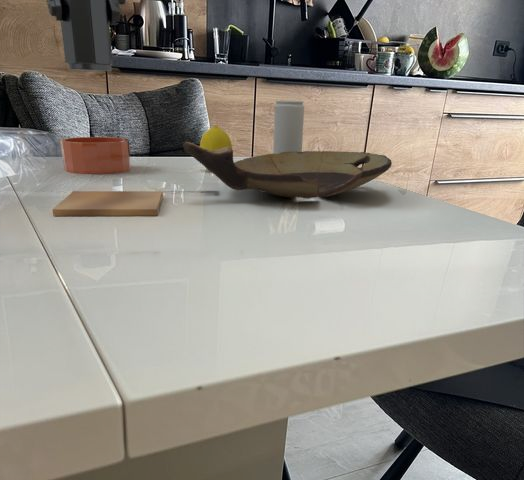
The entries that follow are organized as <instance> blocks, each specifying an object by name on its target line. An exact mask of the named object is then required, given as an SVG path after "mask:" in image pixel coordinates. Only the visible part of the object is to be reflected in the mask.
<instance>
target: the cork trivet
mask: <svg viewBox="0 0 524 480" xmlns="http://www.w3.org/2000/svg"><path fill="white" fill-rule="evenodd" d="M163 197H164V192H163V190H149V191H148V190H119V191H118V190H73V191H72V192H70V194H68V195H67V196H66V197H65V198H63V200H61V201H60V202H59V203H58V204H57V205H55V206H54V207H53V208H52V215H53V217H157V216H158V214H159V211H160V208H161V206H162V205H161V204H162V201H163V199H164V198H163Z"/></svg>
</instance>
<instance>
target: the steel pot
mask: <svg viewBox="0 0 524 480" xmlns="http://www.w3.org/2000/svg"><path fill="white" fill-rule="evenodd" d="M60 2H61V6H62V21H60V27H61V36H62V47H63V53H64V54H63V55H64V62H65V64H67V70H68V71H88V72H92V71H93V72H112V70H113V69H112V66H113V65H114V61H113V49H112V37H111V24H110V21H109V12H108V0H60Z"/></svg>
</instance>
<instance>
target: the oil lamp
mask: <svg viewBox="0 0 524 480" xmlns="http://www.w3.org/2000/svg"><path fill="white" fill-rule="evenodd" d="M182 147H183V150H185V152H186V153H188V155H190V156H191V157H193V159H195V160H196V161H197V162H198V163H199V164H200V165H202V166H203V167H204V168H205V167H206V168H205V169H206V170H208V171H209V172H211V173H212V174H213V175H215V177H217V179H219V180H220V181H221V182H222V183H223V184H224V185H226V186H227V187H228V188H230V189H232V190H236V191H244V190H255V191H258V192H259V191H260V192H261V193H266V194H269V195H274V196H277V197H283V198H290V199H291V198H293V199H294V198H301V199H303V200H304V199H308V200H309V199H316V198H318V197H320V196H321V197H323V198H326V197H331V196H336V195H339V194H343V193H345V192H348V191H351V190H353V189H356V188H359V187H361V186H364V185H365V184H367V183H370V182H371V181H373V180H375V179H377V178H379V177H380V176H382V175H383V174H385V173H386V172H387V171H389V169H390V168H391V167H392V163H393V162H392V160H391V159H390V158H389V157H387V155H384V154H377V153H371V152H366V151H365V152H364V151H335V150H332V151H331V150H328V151H327V150H322V151H321V150H319V151H318V150H313V151H312V150H311V151H309V150H306V151H304V150H303V151H302V152H297V151H296V152H282V153H279V154H274V153H273V152H272V153H268V154H262V155H256V156H251V157H246V158H243V159H240V160H237V161H234V150H233V147H232V148H230V147H224V148H221V149H218V150H214V151H211V150H207V149H204V148H201V147H200V145H197V144H196V143H193V142H190V141H185V142H184V143H183V145H182ZM360 165H362V166H360ZM359 166H360V167H359Z"/></svg>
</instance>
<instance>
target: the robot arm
mask: <svg viewBox="0 0 524 480" xmlns="http://www.w3.org/2000/svg"><path fill="white" fill-rule="evenodd" d="M45 1H46V6H47V9H48V13H49V14H50V16H51V17H54V19H55V21H58V22H61V21H62V6H61V2H60V0H45ZM126 3H127V0H108V12H109V24H110V26H116V25H117V23H118V22H119V21H120V17H121V7H120V5H121V6H123V5H125V4H126Z"/></svg>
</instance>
